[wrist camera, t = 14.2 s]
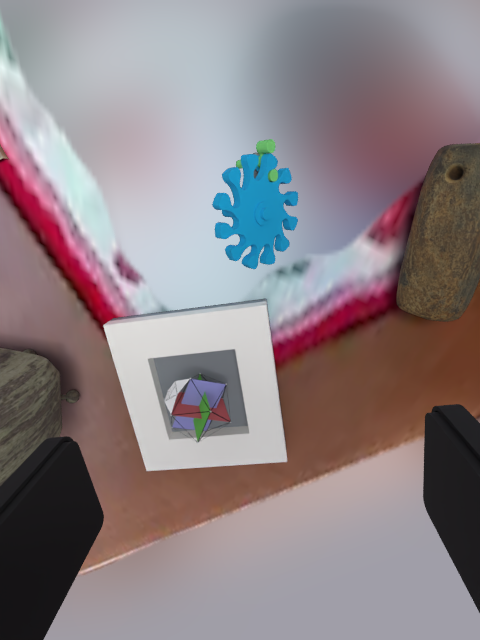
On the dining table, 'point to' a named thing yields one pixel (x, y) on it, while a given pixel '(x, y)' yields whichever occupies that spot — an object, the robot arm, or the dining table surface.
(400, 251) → the dining table surface
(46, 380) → the tabletop clock
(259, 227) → the gear
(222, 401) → the geometric puzzle
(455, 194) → the stone weight
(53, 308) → the dining table surface
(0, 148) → the wooden fragment
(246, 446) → the square picture frame
